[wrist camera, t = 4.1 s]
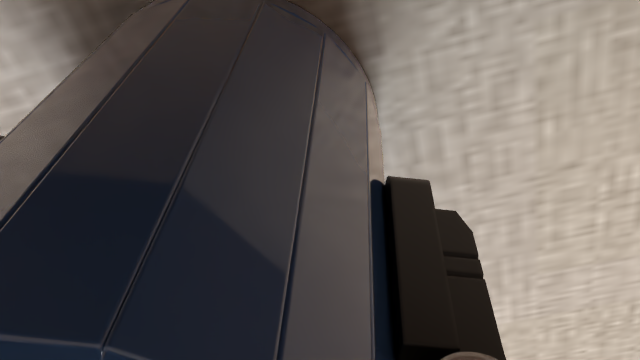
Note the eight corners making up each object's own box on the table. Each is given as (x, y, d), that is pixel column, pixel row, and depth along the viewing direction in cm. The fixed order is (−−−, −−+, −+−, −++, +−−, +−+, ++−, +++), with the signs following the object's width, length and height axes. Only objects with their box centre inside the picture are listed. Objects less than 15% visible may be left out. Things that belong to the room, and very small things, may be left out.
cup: (41, 108, 12) (-342, 485, 5) (234, -91, 9) (-64, 181, 3) (239, 266, 14) (143, 644, 8) (434, 148, 12) (524, 572, 5)
